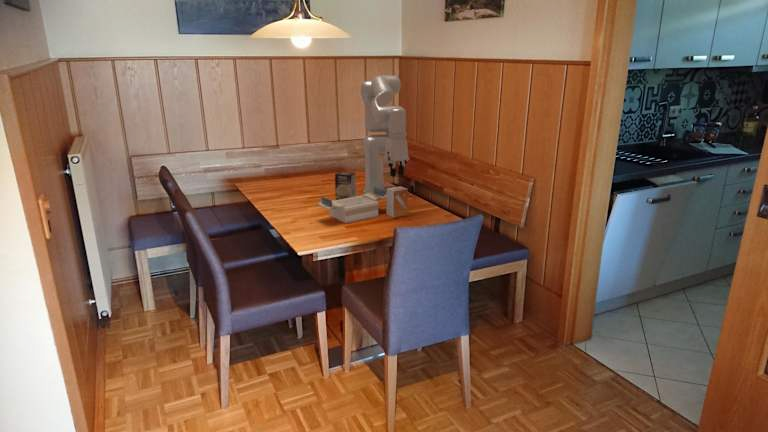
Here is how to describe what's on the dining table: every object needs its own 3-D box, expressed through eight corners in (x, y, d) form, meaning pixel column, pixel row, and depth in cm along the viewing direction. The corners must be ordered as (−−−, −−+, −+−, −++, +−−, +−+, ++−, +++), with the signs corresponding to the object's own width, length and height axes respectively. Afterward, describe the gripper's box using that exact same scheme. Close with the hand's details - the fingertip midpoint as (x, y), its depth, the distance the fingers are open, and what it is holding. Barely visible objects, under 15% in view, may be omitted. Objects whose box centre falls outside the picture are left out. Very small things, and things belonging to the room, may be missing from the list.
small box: (393, 218, 238) (393, 191, 234) (386, 214, 243) (386, 188, 239) (407, 215, 242) (408, 188, 238) (400, 212, 247) (400, 185, 243)
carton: (361, 209, 252) (361, 195, 250) (378, 216, 241) (378, 201, 239) (329, 215, 241) (329, 201, 239) (345, 223, 231) (345, 208, 228)
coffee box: (335, 204, 260) (333, 173, 255) (340, 201, 265) (339, 171, 261) (351, 206, 257) (351, 175, 252) (356, 203, 262) (355, 172, 258)
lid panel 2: (375, 200, 239) (375, 193, 238) (361, 195, 248) (361, 188, 247) (389, 197, 244) (389, 190, 243) (376, 192, 253) (376, 185, 252)
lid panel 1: (332, 201, 238) (332, 193, 237) (344, 206, 230) (344, 198, 229) (316, 204, 234) (315, 196, 233) (328, 209, 225) (328, 202, 224)
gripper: (406, 133, 239) (406, 171, 244) (377, 136, 229) (377, 176, 235) (416, 135, 233) (416, 174, 238) (387, 138, 223) (387, 179, 229)
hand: (397, 175), depth 236 cm, fingers open, 3 cm apart
